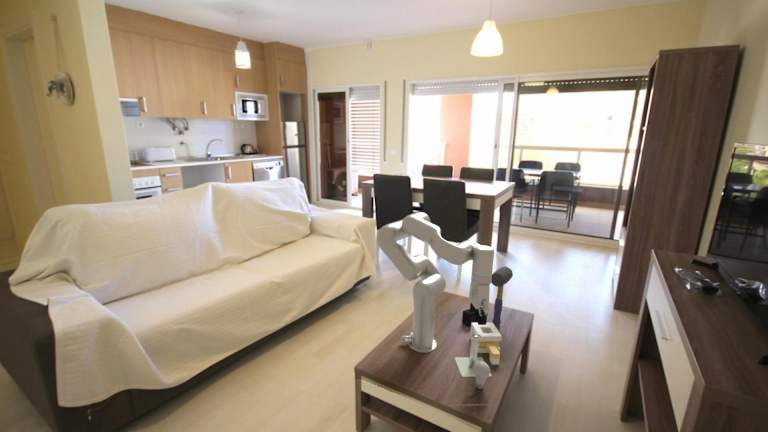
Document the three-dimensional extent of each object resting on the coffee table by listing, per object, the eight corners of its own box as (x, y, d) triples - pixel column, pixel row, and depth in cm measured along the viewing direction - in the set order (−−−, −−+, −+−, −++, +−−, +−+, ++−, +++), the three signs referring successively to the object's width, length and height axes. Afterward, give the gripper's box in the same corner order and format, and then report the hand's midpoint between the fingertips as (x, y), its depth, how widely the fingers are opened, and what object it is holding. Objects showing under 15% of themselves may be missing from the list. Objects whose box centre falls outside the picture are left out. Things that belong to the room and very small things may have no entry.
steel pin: (468, 370, 142) (471, 339, 139) (465, 363, 146) (468, 332, 143) (479, 369, 142) (482, 339, 139) (476, 362, 147) (479, 332, 143)
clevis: (483, 365, 146) (485, 347, 144) (469, 339, 164) (471, 322, 162) (507, 365, 146) (509, 347, 144) (490, 338, 165) (492, 322, 163)
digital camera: (469, 328, 173) (470, 315, 172) (461, 323, 178) (462, 310, 176) (484, 323, 179) (485, 310, 177) (476, 318, 183) (477, 306, 182)
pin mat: (462, 377, 138) (462, 376, 138) (454, 358, 150) (454, 357, 150) (491, 377, 139) (492, 376, 139) (481, 358, 151) (482, 357, 151)
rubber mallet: (498, 333, 170) (505, 275, 163) (483, 327, 175) (489, 270, 167) (508, 322, 179) (514, 267, 172) (493, 317, 184) (499, 263, 177)
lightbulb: (468, 389, 132) (471, 364, 129) (474, 380, 137) (476, 355, 134) (484, 396, 129) (487, 370, 126) (490, 387, 134) (492, 361, 131)
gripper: (465, 269, 144) (462, 307, 148) (479, 287, 127) (475, 330, 131) (483, 269, 144) (479, 307, 148) (499, 287, 127) (495, 329, 131)
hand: (477, 317), depth 139 cm, fingers open, 9 cm apart
